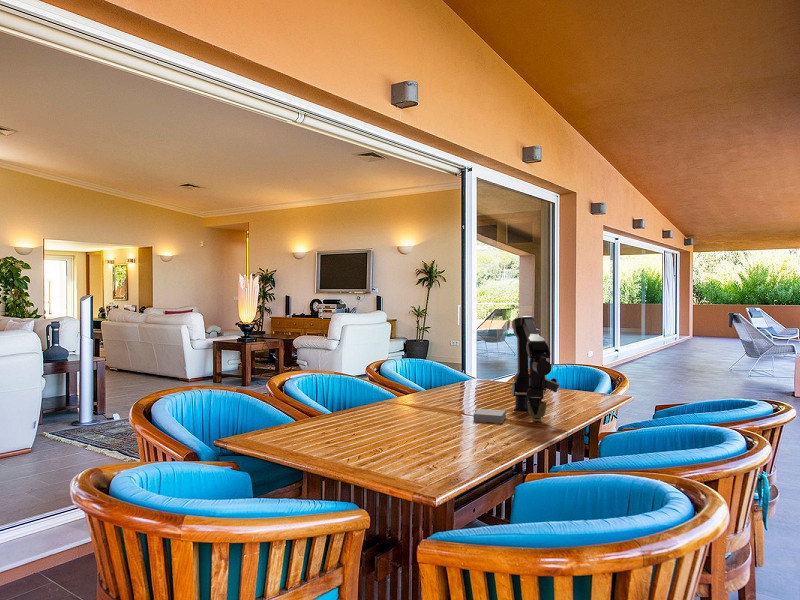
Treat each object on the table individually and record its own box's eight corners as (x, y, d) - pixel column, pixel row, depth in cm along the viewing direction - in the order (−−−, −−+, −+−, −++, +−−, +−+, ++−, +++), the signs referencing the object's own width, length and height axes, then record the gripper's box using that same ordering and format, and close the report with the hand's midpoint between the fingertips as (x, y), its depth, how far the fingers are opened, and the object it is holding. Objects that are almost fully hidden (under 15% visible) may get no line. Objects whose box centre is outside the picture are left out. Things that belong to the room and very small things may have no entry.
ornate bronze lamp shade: (545, 420, 227) (545, 399, 227) (548, 424, 219) (548, 403, 219) (525, 419, 227) (526, 399, 227) (528, 423, 220) (528, 402, 220)
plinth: (478, 416, 234) (478, 408, 234) (505, 417, 230) (505, 410, 230) (473, 421, 223) (473, 413, 223) (501, 423, 220) (501, 415, 220)
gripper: (557, 376, 212) (557, 418, 212) (559, 370, 230) (559, 409, 230) (526, 374, 215) (526, 416, 215) (530, 369, 233) (530, 407, 233)
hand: (536, 412), depth 223 cm, fingers open, 9 cm apart
